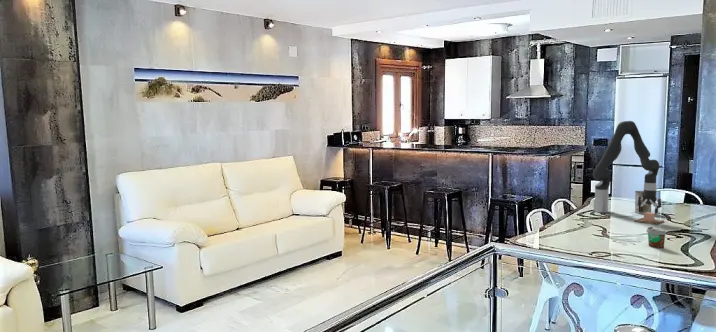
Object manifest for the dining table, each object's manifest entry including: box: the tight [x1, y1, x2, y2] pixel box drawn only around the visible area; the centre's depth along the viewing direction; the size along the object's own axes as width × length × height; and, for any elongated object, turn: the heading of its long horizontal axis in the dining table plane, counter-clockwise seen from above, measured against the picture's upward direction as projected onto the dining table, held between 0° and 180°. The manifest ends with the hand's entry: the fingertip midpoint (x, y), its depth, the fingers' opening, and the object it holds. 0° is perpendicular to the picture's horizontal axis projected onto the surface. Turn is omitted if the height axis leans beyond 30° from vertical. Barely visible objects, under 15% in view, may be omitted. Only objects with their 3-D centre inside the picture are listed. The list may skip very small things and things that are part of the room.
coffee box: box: [634, 190, 652, 215], centre depth 393 cm, size 9×6×16 cm
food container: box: [646, 226, 667, 249], centre depth 302 cm, size 12×6×10 cm, turn 5°
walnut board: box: [634, 217, 665, 226], centre depth 363 cm, size 14×12×1 cm
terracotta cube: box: [643, 212, 656, 222], centre depth 363 cm, size 5×5×5 cm
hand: (649, 212), depth 363 cm, fingers open, 8 cm apart
